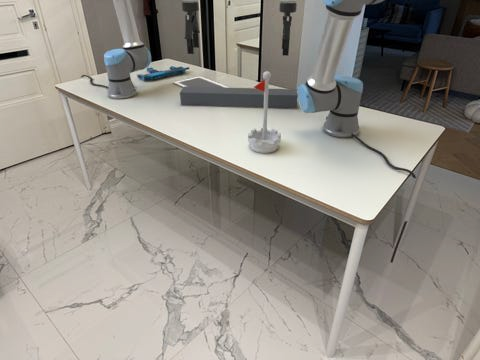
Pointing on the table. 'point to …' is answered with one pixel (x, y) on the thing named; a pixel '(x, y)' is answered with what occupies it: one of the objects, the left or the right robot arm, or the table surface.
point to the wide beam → (238, 97)
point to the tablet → (199, 83)
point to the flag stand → (264, 125)
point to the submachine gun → (161, 73)
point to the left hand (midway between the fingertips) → (193, 50)
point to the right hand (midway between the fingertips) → (284, 52)
